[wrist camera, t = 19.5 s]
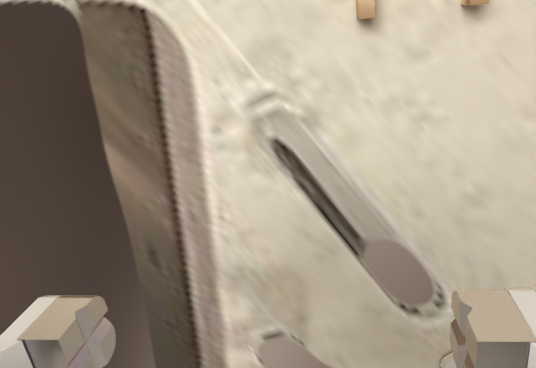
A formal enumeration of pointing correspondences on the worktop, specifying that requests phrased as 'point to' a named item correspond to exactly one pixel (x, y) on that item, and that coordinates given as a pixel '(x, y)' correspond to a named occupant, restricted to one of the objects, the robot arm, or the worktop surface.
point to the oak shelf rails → (367, 7)
